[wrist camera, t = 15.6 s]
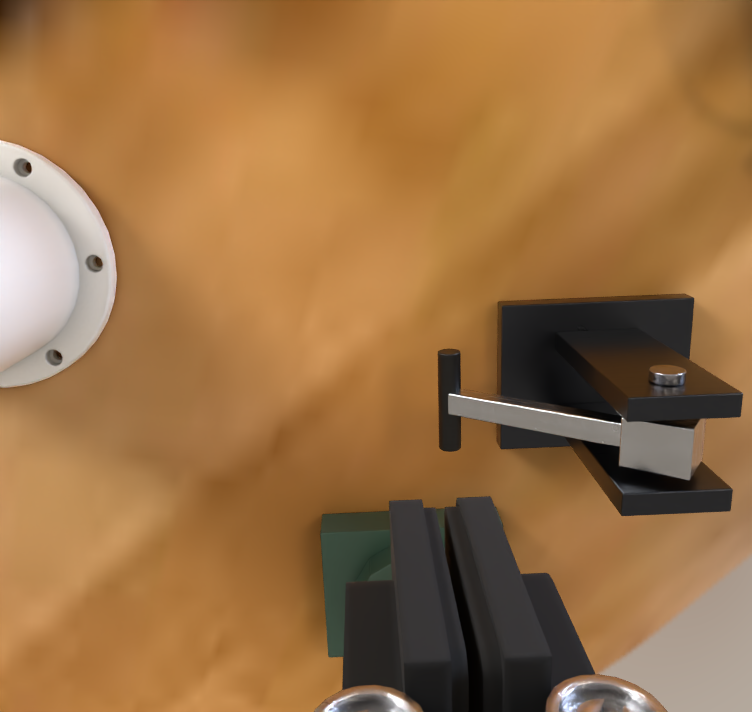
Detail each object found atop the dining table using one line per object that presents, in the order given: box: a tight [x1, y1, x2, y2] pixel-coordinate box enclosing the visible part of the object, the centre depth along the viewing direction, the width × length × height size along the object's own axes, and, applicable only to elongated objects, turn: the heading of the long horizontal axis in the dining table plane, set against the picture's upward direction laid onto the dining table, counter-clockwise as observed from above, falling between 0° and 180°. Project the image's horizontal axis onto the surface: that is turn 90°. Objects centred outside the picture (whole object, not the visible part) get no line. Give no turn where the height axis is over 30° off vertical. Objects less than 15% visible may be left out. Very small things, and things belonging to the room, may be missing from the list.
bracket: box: [497, 294, 743, 516], centre depth 34 cm, size 10×8×12 cm
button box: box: [320, 507, 503, 657], centre depth 41 cm, size 10×8×4 cm
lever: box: [438, 349, 706, 480], centre depth 32 cm, size 12×5×2 cm
